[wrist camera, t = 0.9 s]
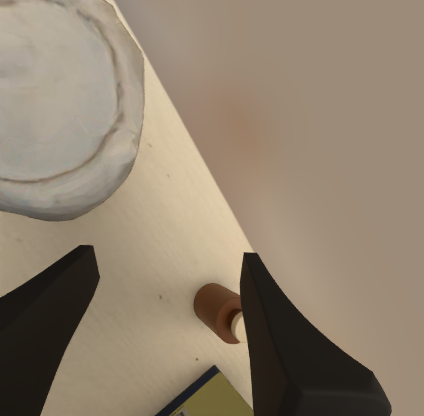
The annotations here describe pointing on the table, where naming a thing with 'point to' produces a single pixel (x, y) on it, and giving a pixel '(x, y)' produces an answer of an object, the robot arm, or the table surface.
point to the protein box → (209, 398)
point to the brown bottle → (221, 312)
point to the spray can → (66, 106)
